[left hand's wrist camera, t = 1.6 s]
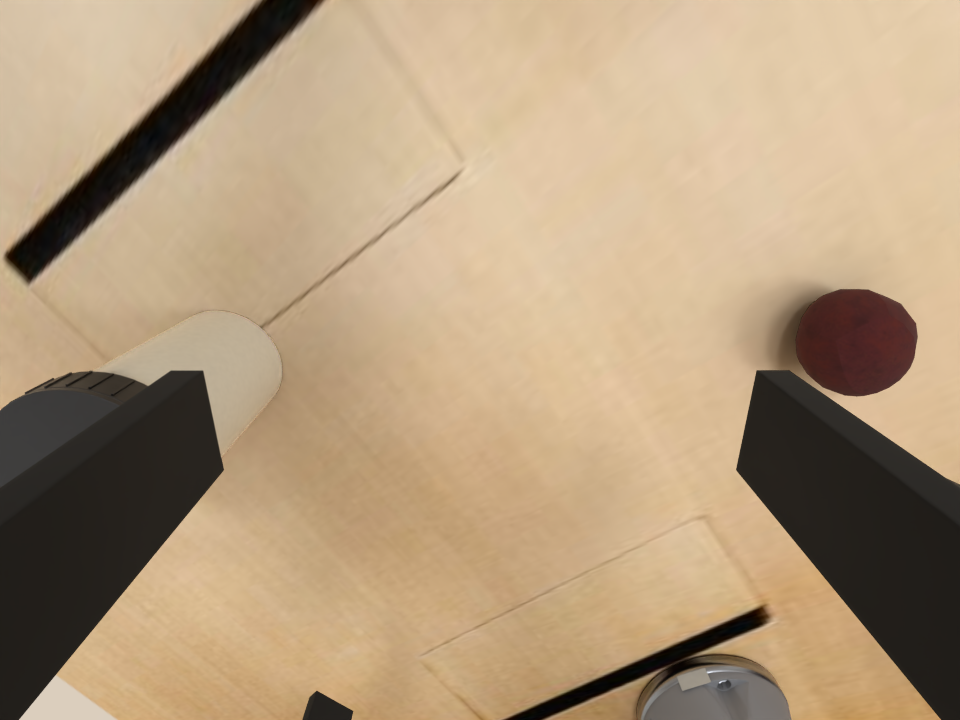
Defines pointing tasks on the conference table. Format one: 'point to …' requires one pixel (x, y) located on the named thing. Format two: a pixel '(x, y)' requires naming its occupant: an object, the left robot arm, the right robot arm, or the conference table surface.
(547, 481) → the conference table surface
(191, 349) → the jar
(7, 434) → the lid
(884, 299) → the dark red ball
